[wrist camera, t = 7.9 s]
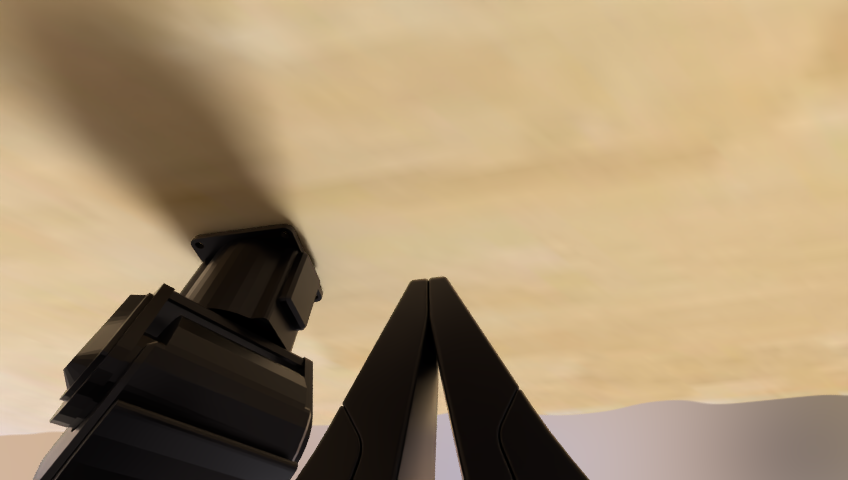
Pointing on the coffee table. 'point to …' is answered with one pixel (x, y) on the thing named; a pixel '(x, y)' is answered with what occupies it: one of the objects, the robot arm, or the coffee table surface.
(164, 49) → the coffee table surface
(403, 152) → the coffee table surface
